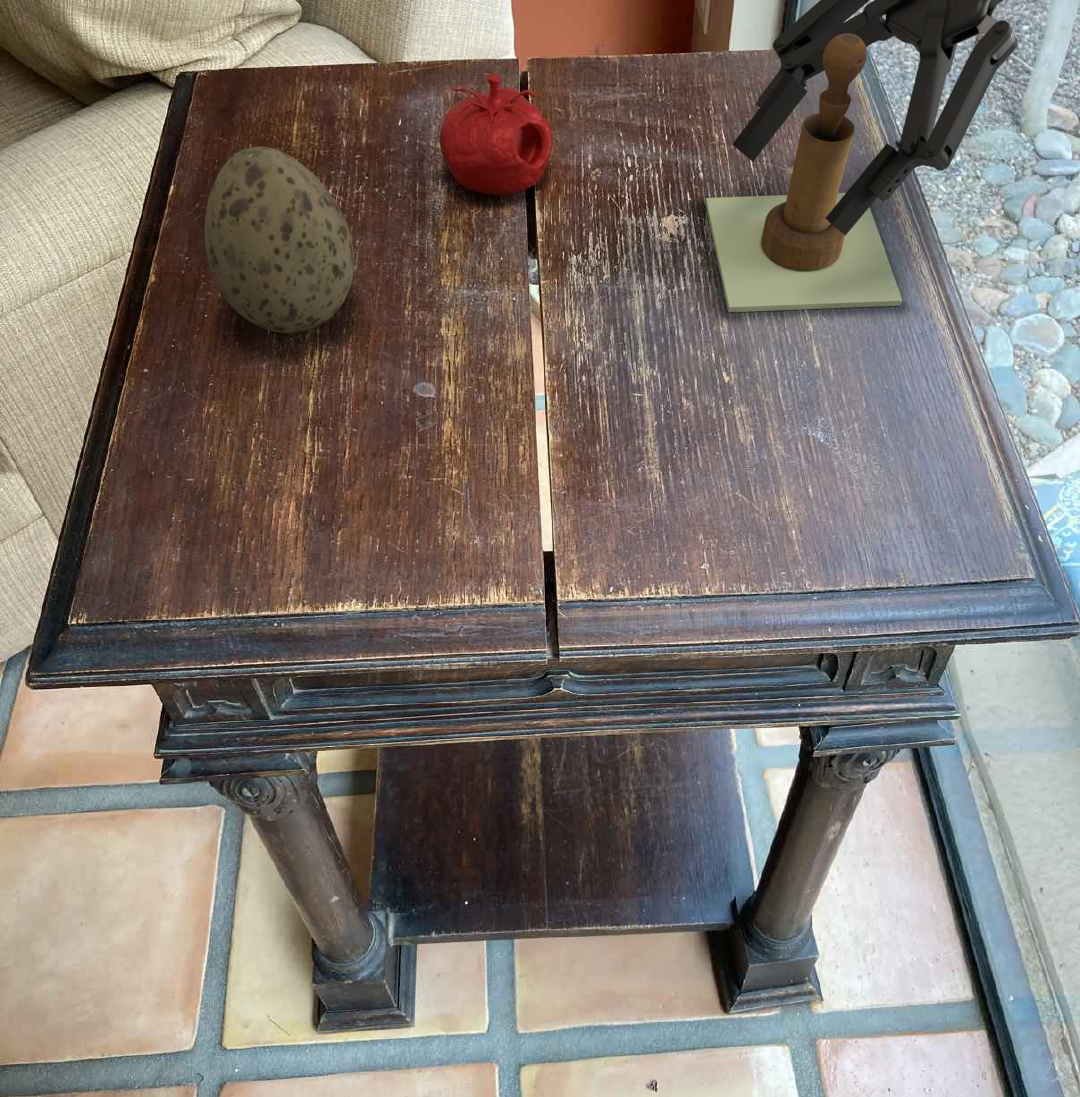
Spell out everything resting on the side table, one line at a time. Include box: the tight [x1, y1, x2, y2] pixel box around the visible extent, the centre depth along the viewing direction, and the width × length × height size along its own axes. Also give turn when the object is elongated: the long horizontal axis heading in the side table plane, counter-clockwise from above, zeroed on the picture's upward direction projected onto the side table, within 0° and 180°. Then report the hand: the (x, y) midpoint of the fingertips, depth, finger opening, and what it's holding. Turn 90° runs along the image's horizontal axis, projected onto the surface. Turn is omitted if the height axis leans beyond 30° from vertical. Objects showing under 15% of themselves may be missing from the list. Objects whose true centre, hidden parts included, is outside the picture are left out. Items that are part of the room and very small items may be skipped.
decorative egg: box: [204, 146, 355, 334], centre depth 79 cm, size 11×11×15 cm
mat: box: [704, 192, 903, 313], centre depth 88 cm, size 14×14×1 cm
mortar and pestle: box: [761, 33, 868, 271], centre depth 81 cm, size 7×6×18 cm
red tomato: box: [438, 72, 553, 196], centre depth 91 cm, size 10×10×9 cm
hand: (787, 189), depth 82 cm, fingers open, 10 cm apart
